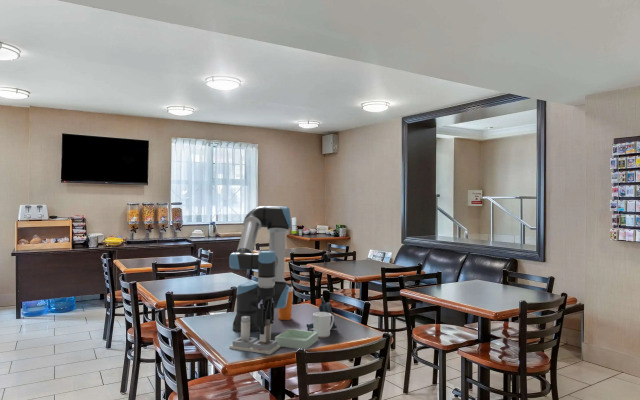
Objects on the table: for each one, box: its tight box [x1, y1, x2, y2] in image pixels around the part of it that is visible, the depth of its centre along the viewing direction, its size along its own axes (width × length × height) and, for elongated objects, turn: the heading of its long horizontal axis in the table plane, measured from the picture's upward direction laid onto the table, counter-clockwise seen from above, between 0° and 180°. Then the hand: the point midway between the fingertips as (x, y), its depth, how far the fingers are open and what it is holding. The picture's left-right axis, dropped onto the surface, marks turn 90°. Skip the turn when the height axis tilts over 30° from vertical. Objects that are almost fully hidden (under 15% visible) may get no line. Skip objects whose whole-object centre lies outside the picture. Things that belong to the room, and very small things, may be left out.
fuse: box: [240, 316, 251, 342], centre depth 189 cm, size 4×4×12 cm
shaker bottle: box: [277, 282, 294, 321], centre depth 240 cm, size 9×9×20 cm
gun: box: [306, 296, 338, 331], centre depth 218 cm, size 3×17×15 cm
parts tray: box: [274, 328, 319, 350], centre depth 195 cm, size 15×15×4 cm
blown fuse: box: [261, 318, 271, 345], centre depth 186 cm, size 4×4×12 cm
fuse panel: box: [228, 336, 281, 355], centre depth 187 cm, size 20×10×3 cm, turn 69°
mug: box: [312, 311, 335, 338], centre depth 209 cm, size 11×9×10 cm
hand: (265, 339), depth 186 cm, fingers closed on blown fuse, 4 cm apart
